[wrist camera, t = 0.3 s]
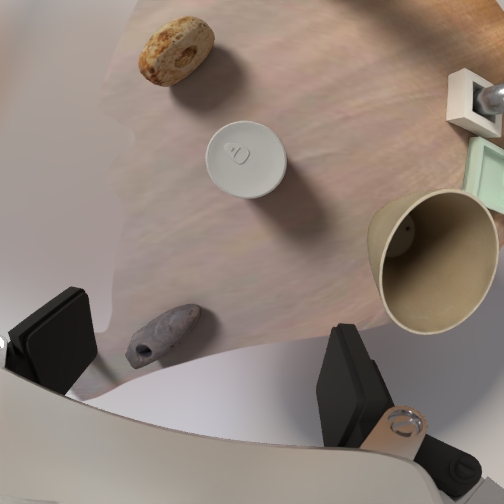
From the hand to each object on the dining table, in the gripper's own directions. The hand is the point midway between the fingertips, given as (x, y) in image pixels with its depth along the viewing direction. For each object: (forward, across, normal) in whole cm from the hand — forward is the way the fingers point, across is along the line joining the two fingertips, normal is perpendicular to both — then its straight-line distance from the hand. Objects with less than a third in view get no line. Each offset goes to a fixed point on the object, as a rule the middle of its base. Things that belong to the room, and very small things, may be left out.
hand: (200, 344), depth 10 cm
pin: (+31, -31, -22) cm, 49 cm away
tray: (+31, -37, -11) cm, 49 cm away
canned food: (+31, +1, -7) cm, 32 cm away
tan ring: (+31, +11, -20) cm, 39 cm away
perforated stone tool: (+31, +12, +19) cm, 38 cm away
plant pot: (+31, -20, 0) cm, 37 cm away
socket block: (+31, -31, -22) cm, 49 cm away
